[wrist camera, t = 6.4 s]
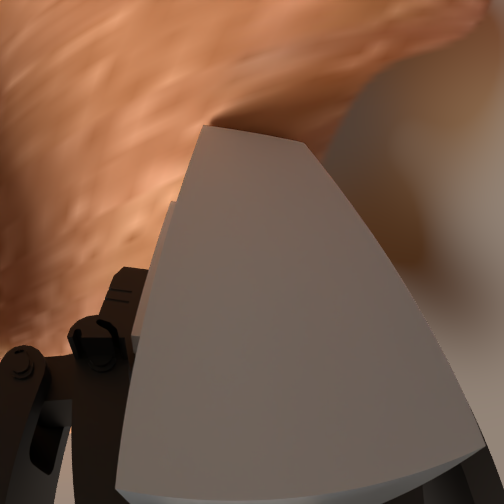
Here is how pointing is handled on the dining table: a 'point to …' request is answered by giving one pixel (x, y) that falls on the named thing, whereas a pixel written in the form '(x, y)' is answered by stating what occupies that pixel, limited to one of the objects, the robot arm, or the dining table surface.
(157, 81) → the dining table surface
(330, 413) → the stub
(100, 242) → the dining table surface
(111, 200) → the dining table surface
